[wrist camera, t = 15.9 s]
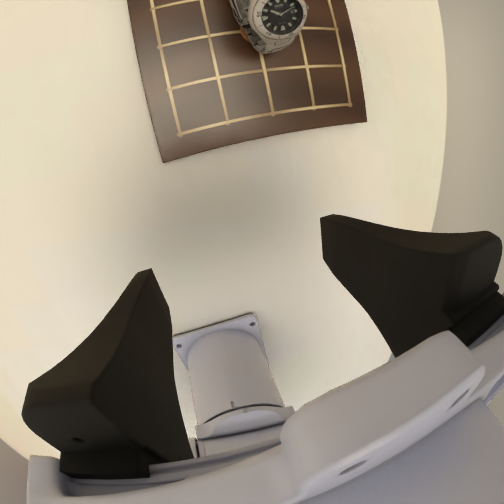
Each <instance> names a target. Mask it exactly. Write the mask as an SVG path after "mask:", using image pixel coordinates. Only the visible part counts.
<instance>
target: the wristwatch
mask: <svg viewBox="0 0 504 504" xmlns="http://www.w3.org/2000/svg"><path fill="white" fill-rule="evenodd" d="M229 2H230V6H231V7H232V9H233V13H234V14H233V15H234V18H235V19H236V21H237V22H238V24H239V25H240V26H241V27H242V29H243V30H244V32H245V34H246V35H247V38H248V40H249V41H250V42H251V44H252V46H253V47H254V49H255V50H256V51H258V52H260V53H263V54H267V53H274V52H277V51H280V50H282V49H284V48H286V47H287V46H289V45H290V44H291V43H292V42H293V40H294V39H295V36H297V35H298V34H299V33H300V31H301V30H302V28H303V26H304V23H305V20H306V17H307V10H308V9H309V7H308V6H307V5H306V3H305V1H304V0H229Z"/></svg>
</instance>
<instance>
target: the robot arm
mask: <svg viewBox="0 0 504 504" xmlns="http://www.w3.org/2000/svg"><path fill="white" fill-rule="evenodd" d="M320 224H321V236H322V251H323V259H324V261H325V262H326V264H327V266H328V267H329V269H330V270H331V271H332V273H333V274H334V276H335V277H336V278H337V279H338V280H339V281H340V282H341V284H342V285H343V286H344V287H345V288H346V289H347V290H348V291H349V292H350V293H351V295H352V296H353V297H354V298H355V299H356V300H357V301H358V302H359V303H360V305H361V306H362V307H363V308H364V309H365V310H366V312H367V313H368V314H369V316H370V317H371V319H372V320H373V322H374V323H375V325H376V326H377V328H378V329H379V331H380V332H381V334H382V335H383V337H384V339H385V340H386V342H387V344H388V345H389V347H390V349H391V351H392V353H393V355H394V356H395V358H394V359H393V360H391V361H389V362H387V363H385V364H383V365H382V366H380V367H378V368H376V369H374V370H372V371H370V372H368V373H366V374H364V375H362V376H360V377H358V378H356V379H354V380H352V381H350V382H348V383H346V384H343V385H341V386H339V387H337V388H335V389H332V390H330V391H328V392H326V393H325V394H323V395H321V396H319V397H317V398H316V399H314V400H312V401H310V402H308V403H306V404H304V405H303V406H302V407H301V408H300V409H299V410H297V411H296V412H295V411H294V409H293V406H289V407H285V405H284V403H283V400H282V398H281V396H280V393H279V391H278V389H277V386H276V384H275V382H274V379H273V377H272V374H271V372H270V369H269V365H268V361H267V357H266V353H265V350H264V346H263V342H262V338H261V334H260V330H259V326H258V322H257V318H256V316H255V315H254V314H248V315H244V316H241V317H238V318H235V319H232V320H229V321H225V322H222V323H219V324H215V325H212V326H209V327H205V328H202V329H199V330H195V331H192V332H188V333H185V334H181V335H177V336H174V337H173V338H172V323H171V317H170V310H169V306H168V304H167V302H166V300H165V298H164V295H163V293H162V291H161V289H160V286H159V284H158V282H157V280H156V277H155V275H154V273H153V271H152V268H150V269H147V270H144V271H141V272H138V273H137V274H136V275H135V276H134V278H133V279H132V280H131V282H130V283H129V285H128V286H127V287H126V289H125V290H124V292H123V293H122V295H121V296H120V298H119V299H118V300H117V302H116V303H115V304H114V306H113V307H112V308H111V310H110V311H109V312H108V314H107V315H106V316H105V318H104V319H103V320H102V321H101V323H100V324H99V325H98V326H97V327H96V328H95V330H94V331H93V332H92V333H91V334H90V335H89V336H88V337H87V338H86V339H85V340H84V341H83V342H82V343H81V344H80V345H79V346H78V347H77V348H76V349H75V350H74V351H73V352H71V353H70V354H69V355H68V356H67V357H66V358H64V359H63V360H62V361H61V362H59V363H58V364H57V365H56V366H54V367H53V368H52V369H50V370H49V371H47V372H46V373H44V374H43V375H41V376H40V377H38V378H37V379H35V380H34V381H32V382H31V383H29V385H28V389H27V393H26V397H25V401H24V405H23V409H22V414H21V415H22V418H23V420H24V422H25V423H26V425H27V426H28V427H29V428H30V429H31V430H32V431H33V432H34V433H35V434H37V435H38V436H39V437H41V438H42V439H43V440H45V441H46V442H47V443H49V444H50V445H52V446H53V447H55V448H56V449H58V450H59V451H61V455H60V459H58V458H55V457H50V456H38V455H30V458H29V468H28V469H29V470H28V483H27V504H504V426H503V425H502V424H501V422H500V421H499V420H498V418H497V417H496V416H495V415H494V413H493V412H492V411H491V410H490V408H489V407H488V406H487V404H488V403H489V402H490V401H491V400H492V399H493V398H494V397H495V396H496V395H497V394H498V392H499V391H500V390H501V389H502V388H503V387H504V293H503V295H501V294H500V293H499V292H497V291H498V289H499V285H498V284H496V283H495V282H494V279H495V276H496V273H497V270H498V266H499V263H500V260H501V255H502V242H501V240H500V238H499V237H497V236H496V235H495V234H493V233H491V232H489V231H479V232H468V233H430V232H419V231H411V230H404V229H398V228H393V227H389V226H384V225H379V224H375V223H371V222H367V221H363V220H359V219H355V218H351V217H347V216H342V215H335V214H332V215H328V216H325V217H321V218H320ZM251 322H253V323H251ZM250 323H251V324H250ZM177 344H181V345H177ZM173 346H174V348H175V350H176V351H177V353H178V355H179V357H180V358H181V360H182V362H183V363H184V365H185V367H186V368H187V370H188V372H189V377H190V384H191V390H192V396H193V402H194V408H195V414H196V419H197V424H198V425H196V426H195V429H196V434H197V439H198V441H197V439H196V438H189V439H188V437H187V433H186V429H185V426H184V422H183V418H182V414H181V410H180V405H179V401H178V396H177V391H176V385H175V379H174V366H173Z"/></svg>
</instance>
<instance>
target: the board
mask: <svg viewBox="0 0 504 504" xmlns="http://www.w3.org/2000/svg"><path fill="white" fill-rule="evenodd" d="M304 1H305V3H306V5H307V6H308V7H309V9H308V10H307V17H306V20H305V23H304V26H303V28H302V30H301V31H300V33H299V34H298V35H297V36H295V39H294V40H293V42H292V43H291V44H290V45H289V46H287V47H286V48H284V49H282V50H280V51H277V52H274V53H267V54H263V53H260V52H258V51H256V50H255V49H254V47H253V46H252V44H251V42H250V41H249V40H248V38H247V35H246V34H245V32H244V30H243V29H242V27H241V26H240V25H239V24H238V22H237V21H236V19H235V18H234V15H233V14H234V13H233V9H232V7H231V6H230V2H229V0H127V3H128V9H129V15H130V21H131V27H132V33H133V38H134V43H135V49H136V54H137V59H138V63H139V68H140V73H141V78H142V82H143V87H144V91H145V95H146V100H147V104H148V108H149V112H150V116H151V120H152V124H153V128H154V132H155V136H156V139H157V143H158V147H159V151H160V154H161V158H162V162H163V163H166V162H169V161H172V160H176V159H179V158H182V157H186V156H189V155H193V154H196V153H200V152H204V151H208V150H211V149H215V148H219V147H223V146H227V145H231V144H236V143H240V142H244V141H249V140H254V139H258V138H263V137H268V136H273V135H278V134H284V133H289V132H295V131H301V130H307V129H314V128H321V127H328V126H336V125H344V124H353V123H363V122H367V116H366V108H365V100H364V92H363V86H362V79H361V73H360V67H359V62H358V56H357V51H356V46H355V41H354V37H353V32H352V28H351V24H350V20H349V16H348V12H347V8H346V5H345V1H344V0H304Z"/></svg>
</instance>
